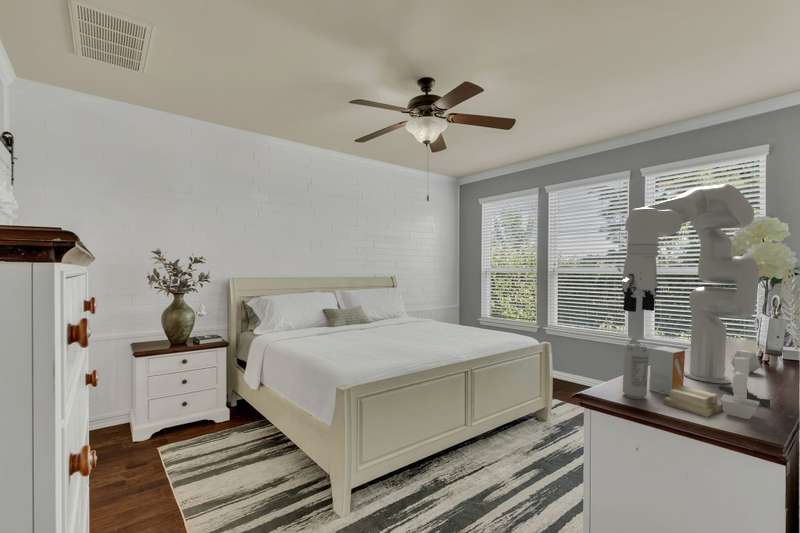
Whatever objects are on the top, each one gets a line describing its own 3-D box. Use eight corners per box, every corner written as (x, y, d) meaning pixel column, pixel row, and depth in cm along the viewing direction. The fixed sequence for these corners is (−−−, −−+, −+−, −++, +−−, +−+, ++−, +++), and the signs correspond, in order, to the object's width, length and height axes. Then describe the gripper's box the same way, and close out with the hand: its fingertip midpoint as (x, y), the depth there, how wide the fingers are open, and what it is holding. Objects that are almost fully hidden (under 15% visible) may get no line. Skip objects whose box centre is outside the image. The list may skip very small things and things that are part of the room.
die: (737, 369, 151) (722, 349, 151) (764, 362, 145) (749, 341, 146) (740, 381, 145) (724, 360, 145) (768, 375, 139) (752, 352, 139)
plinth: (680, 398, 113) (681, 384, 113) (722, 409, 105) (723, 395, 105) (663, 403, 108) (664, 389, 108) (707, 416, 99) (707, 401, 99)
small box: (671, 396, 114) (673, 352, 114) (648, 390, 119) (650, 348, 119) (683, 392, 119) (685, 349, 118) (660, 386, 124) (662, 345, 124)
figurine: (718, 414, 101) (721, 357, 101) (724, 406, 107) (726, 352, 107) (756, 423, 96) (759, 363, 95) (759, 414, 102) (762, 357, 102)
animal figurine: (768, 409, 110) (774, 393, 109) (767, 413, 107) (773, 396, 106) (717, 391, 118) (721, 376, 117) (714, 394, 115) (719, 379, 114)
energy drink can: (639, 393, 116) (641, 343, 116) (650, 400, 110) (653, 347, 110) (618, 392, 117) (620, 342, 116) (628, 399, 111) (630, 346, 110)
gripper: (644, 253, 120) (641, 308, 120) (611, 249, 111) (608, 309, 111) (671, 253, 113) (668, 311, 113) (639, 249, 104) (636, 313, 104)
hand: (639, 310), depth 112 cm, fingers open, 9 cm apart
